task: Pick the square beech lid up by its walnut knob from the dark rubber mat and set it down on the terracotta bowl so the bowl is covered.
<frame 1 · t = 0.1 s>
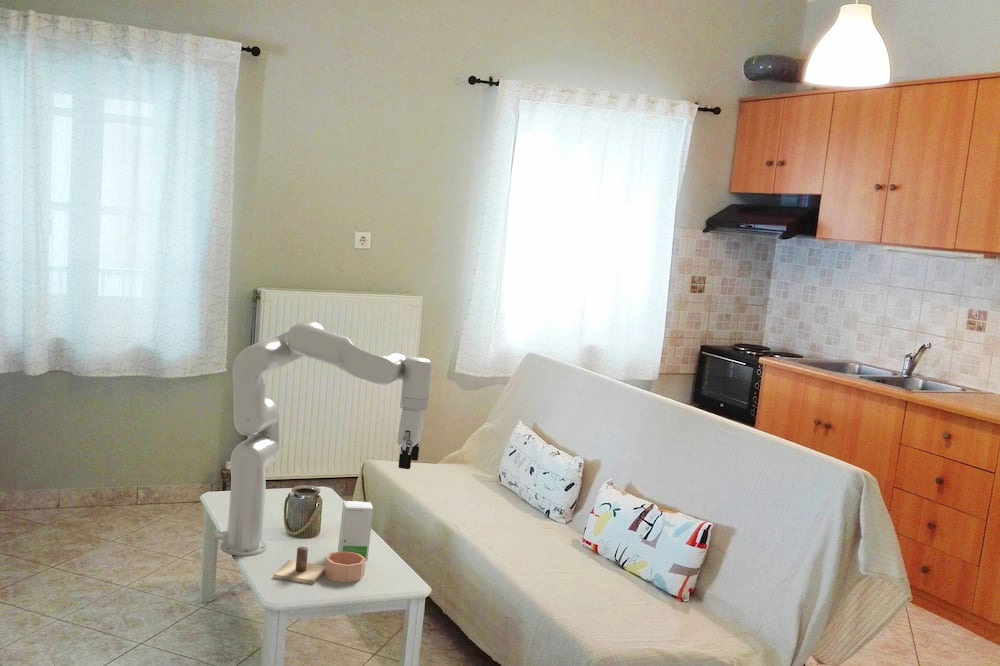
hand: (408, 464, 262), 31 cm above the table, fingers open, 9 cm apart
lid: (300, 573, 257), resting on mat
bowl: (344, 576, 260), on the table
skincare box: (352, 557, 275), on the table
mat: (300, 575, 257), on the table
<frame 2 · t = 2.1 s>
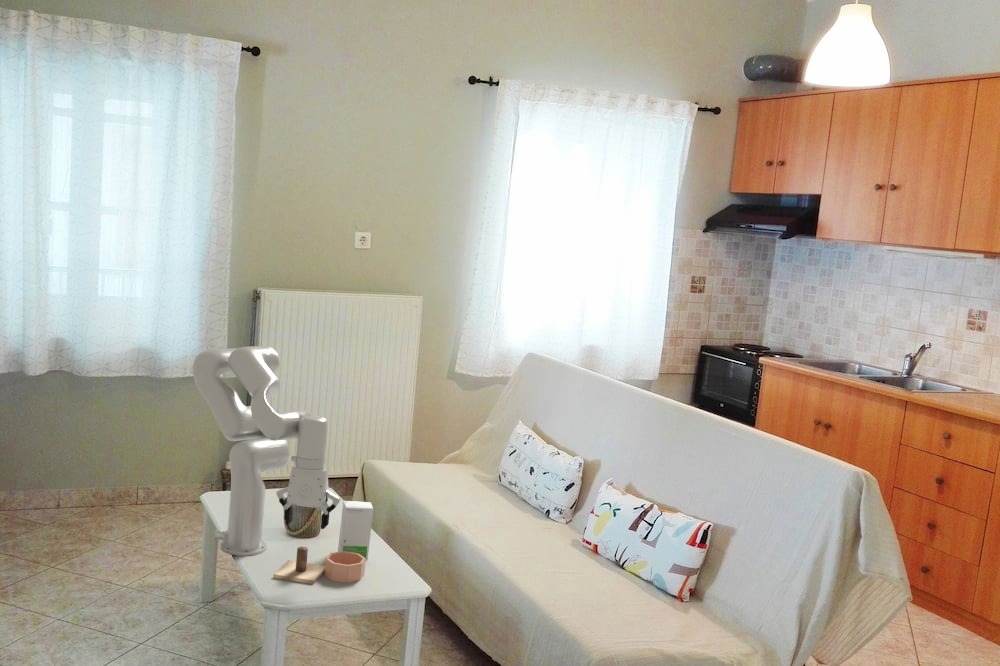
hand: (306, 525, 255), 14 cm above the table, fingers open, 9 cm apart
nothing on the table moved.
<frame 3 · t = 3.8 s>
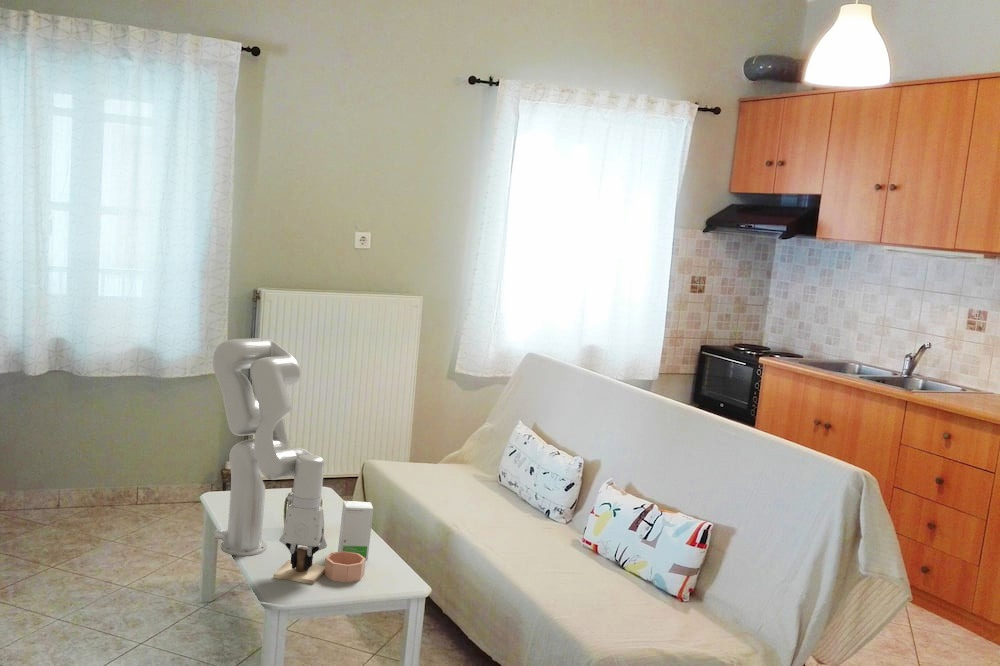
hand: (301, 567, 257), 2 cm above the table, fingers closed on lid, 2 cm apart
lid: (300, 573, 257), resting on mat, touching gripper
everything else where it was.
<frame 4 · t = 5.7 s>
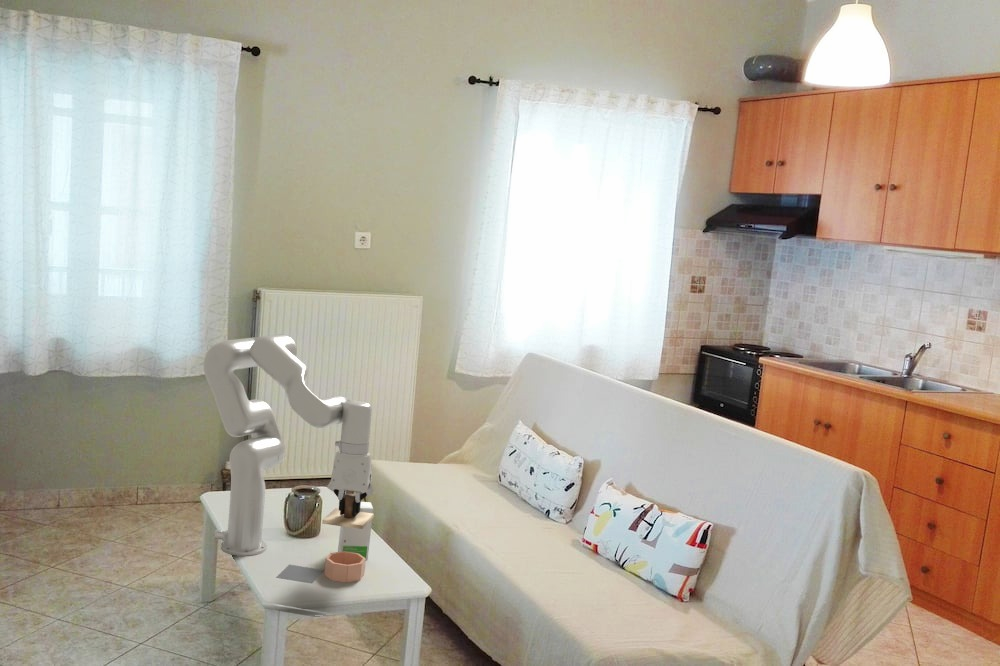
hand: (349, 513, 257), 18 cm above the table, fingers closed on lid, 2 cm apart
lid: (348, 520, 257), point 16 cm above the table, touching gripper
everything else where it was.
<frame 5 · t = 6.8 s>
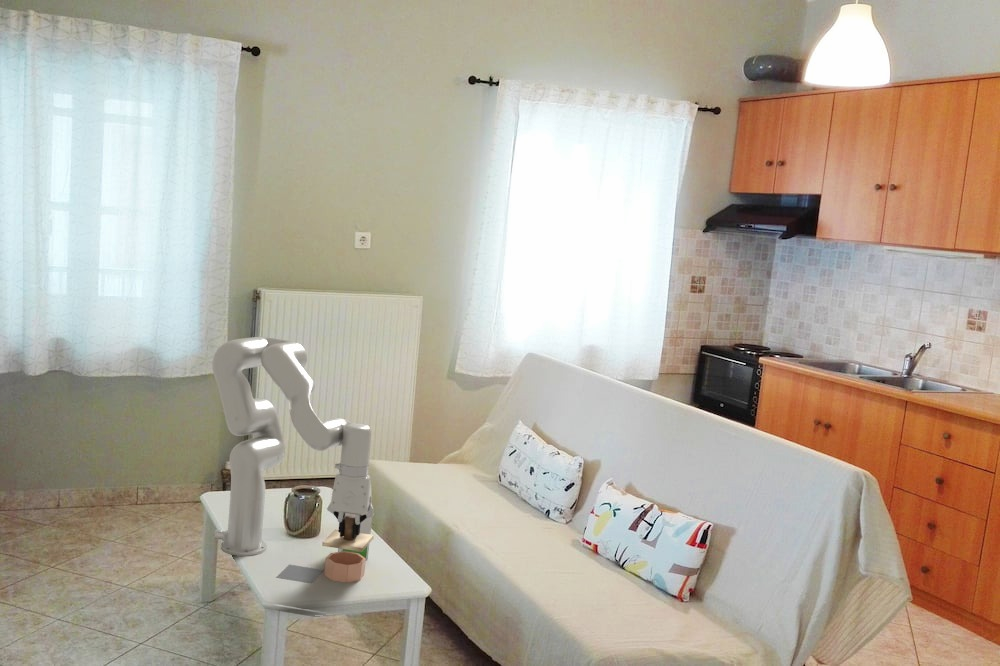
hand: (348, 535, 258), 11 cm above the table, fingers closed on lid, 2 cm apart
lid: (348, 542, 258), point 10 cm above the table, touching gripper
everything else where it was.
when the fingers open (8 cm above the table, at t = 7.6 s): lid drops 2 cm, resting on bowl.
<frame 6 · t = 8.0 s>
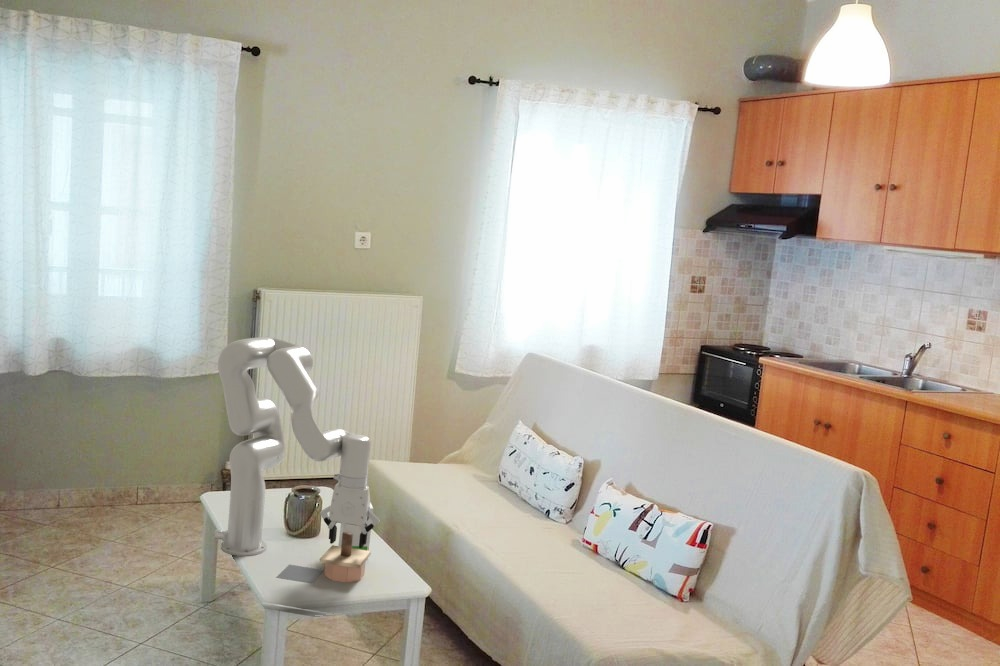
hand: (347, 543, 259), 9 cm above the table, fingers open, 7 cm apart
lid: (345, 558, 259), point 5 cm above the table, touching bowl
everything else where it was.
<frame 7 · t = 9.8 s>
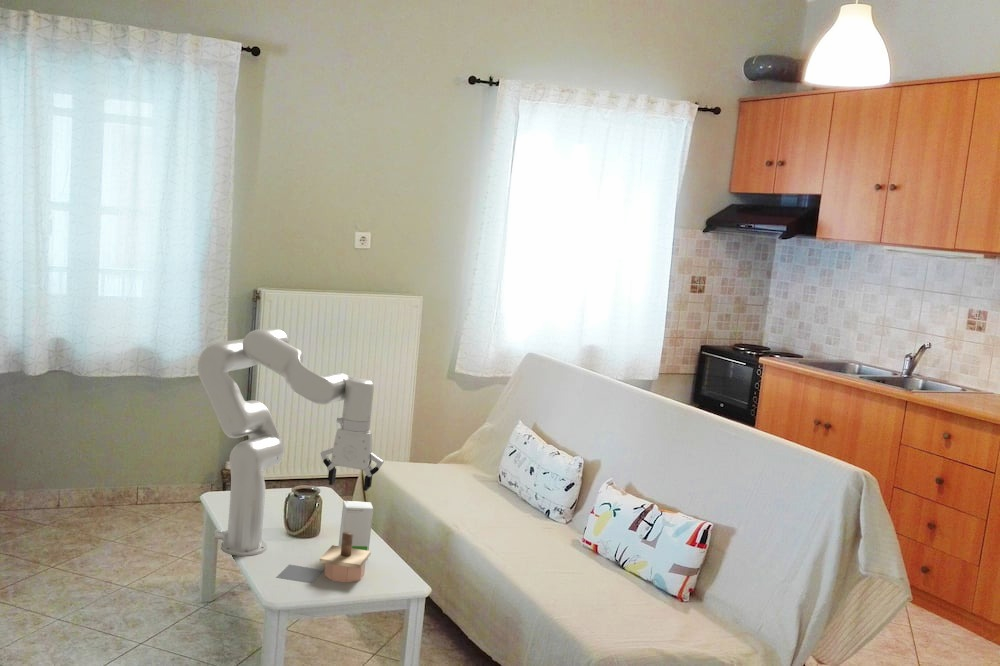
hand: (349, 486, 258), 25 cm above the table, fingers open, 9 cm apart
nothing on the table moved.
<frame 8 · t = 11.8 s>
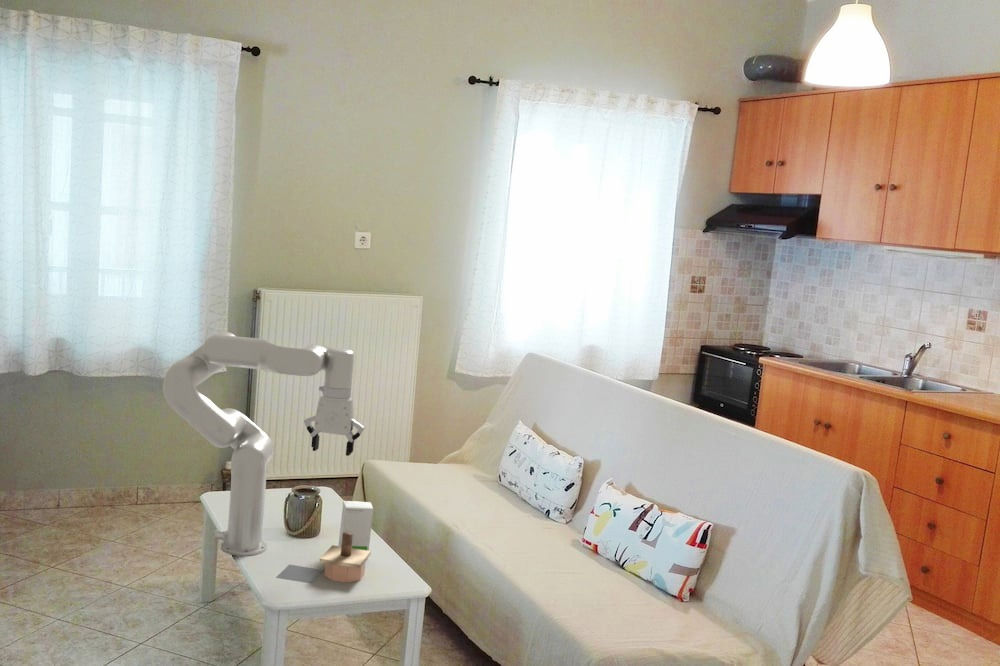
hand: (331, 452, 269), 30 cm above the table, fingers open, 9 cm apart
nothing on the table moved.
at the end: lid 0.1 cm off-centre on the bowl, point 5.0 cm above the bowl's base; lid tilted 0°; the gripper is holding nothing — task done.
